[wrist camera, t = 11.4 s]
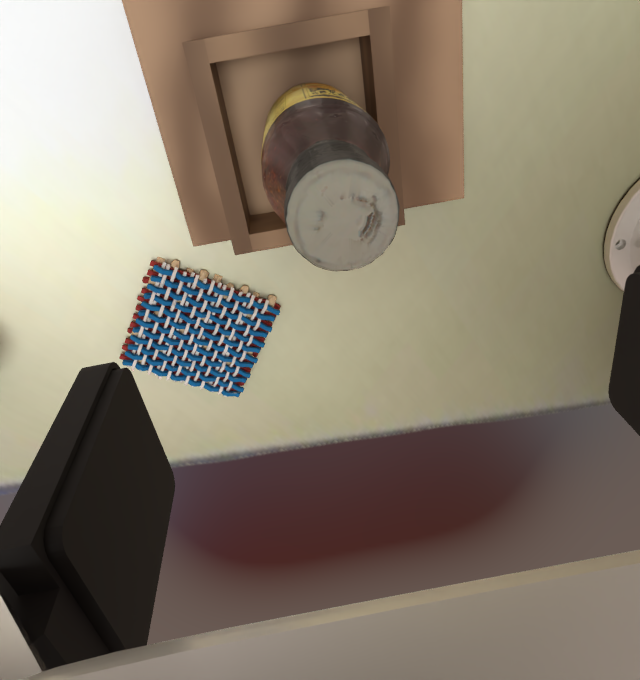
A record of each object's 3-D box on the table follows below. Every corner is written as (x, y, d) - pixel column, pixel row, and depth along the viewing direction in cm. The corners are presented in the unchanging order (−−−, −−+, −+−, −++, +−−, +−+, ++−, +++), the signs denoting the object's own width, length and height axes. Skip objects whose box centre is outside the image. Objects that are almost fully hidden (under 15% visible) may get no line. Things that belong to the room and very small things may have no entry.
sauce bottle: (375, 133, 36) (479, 233, 19) (307, 197, 38) (347, 340, 21) (310, 52, 33) (364, 84, 16) (240, 125, 35) (222, 222, 18)
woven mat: (153, 246, 40) (148, 256, 39) (283, 294, 43) (284, 306, 42) (118, 356, 45) (112, 369, 43) (238, 392, 48) (237, 406, 46)
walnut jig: (454, -73, 32) (486, -88, 27) (458, 193, 40) (483, 214, 35) (122, -14, 32) (99, -20, 27) (195, 240, 40) (187, 268, 35)
